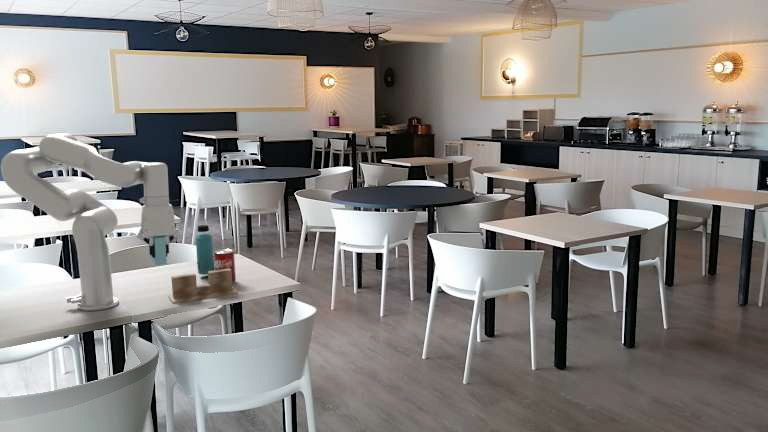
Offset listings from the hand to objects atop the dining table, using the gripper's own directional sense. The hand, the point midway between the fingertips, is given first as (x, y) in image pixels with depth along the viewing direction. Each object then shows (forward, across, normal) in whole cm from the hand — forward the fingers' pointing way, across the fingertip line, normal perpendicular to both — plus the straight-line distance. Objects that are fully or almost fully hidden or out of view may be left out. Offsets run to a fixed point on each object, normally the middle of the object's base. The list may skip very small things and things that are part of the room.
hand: (159, 255), depth 217 cm
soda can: (+17, +25, +16) cm, 34 cm away
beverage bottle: (+17, +21, +28) cm, 39 cm away
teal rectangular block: (+2, 0, +4) cm, 5 cm away
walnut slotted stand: (+16, +14, +4) cm, 22 cm away
